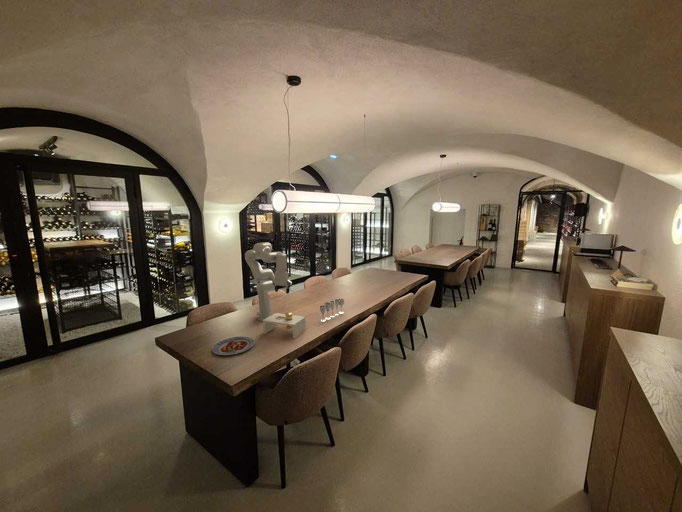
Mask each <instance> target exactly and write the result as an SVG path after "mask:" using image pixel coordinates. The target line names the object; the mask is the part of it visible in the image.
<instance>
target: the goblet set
mask: <svg viewBox="0 0 682 512" xmlns="http://www.w3.org/2000/svg"><path fill="white" fill-rule="evenodd" d="M344 305H345V299H344V298H338V299H334V300H330V301H329V302H328V301H326V302H325V303H324V304H323V305H320V306H319V311H320V313H321V316H324V314H325V312H326V313H327V315H329V311H330V310H331V315H330V316H327V317H325V318H322V319H320V322H322V323H323V322H326V320H331V318H335V316H339V315H341V314H344V313H345V312H344V311H342V309H343V308H342V307H343V306H344ZM339 306H340V311H339V312H338V313H335V314H334V313H333V312H334V308H336V310H338V307H339Z"/></svg>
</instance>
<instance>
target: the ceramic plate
mask: <svg viewBox="0 0 682 512" xmlns="http://www.w3.org/2000/svg"><path fill="white" fill-rule="evenodd" d="M254 344H255V340H254V339H253V338H252V337H249V336H243V335H242V336H232V337H228V338H225V339H221V340H220V341H218V342H216V343H215V344H214V345H213V346H212V348H211V350H212V352H213V353H214V354H216V355H221V356H233V355H238V354H240V353H243V352H246V351H248V350H250V349H252V347H253V346H254Z"/></svg>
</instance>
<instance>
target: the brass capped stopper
mask: <svg viewBox="0 0 682 512" xmlns="http://www.w3.org/2000/svg"><path fill="white" fill-rule="evenodd" d="M284 314H285V320H292V315H293V313H292V312H286V313H284ZM285 326H286V327H285V328H286V329H287V330H288V329H289V330H290V329H292V326H288V325H285Z"/></svg>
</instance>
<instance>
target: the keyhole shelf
mask: <svg viewBox="0 0 682 512" xmlns="http://www.w3.org/2000/svg"><path fill="white" fill-rule="evenodd" d="M285 314H286V313H278V312H275V313H273V314H271V316H269V317H268V318H266V319H264V320H263V321H262V327H263V329H262V330H263V334H265V335H266V334H267V333H269V332H270V331H272V330H274V329H275V328H276V327H278V326H279V325H283V326H286V325H288V326H292V328H291V329H292V339H296V338H297V337H298V336H300V335H302V333H303V332H305V331H306V330H307V328H306V326H307V325H306V316H301V315H296V314H295V315H294V314H292V320H286V319H285ZM279 318H280V319H279Z"/></svg>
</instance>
